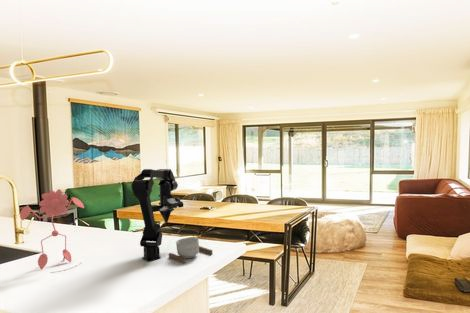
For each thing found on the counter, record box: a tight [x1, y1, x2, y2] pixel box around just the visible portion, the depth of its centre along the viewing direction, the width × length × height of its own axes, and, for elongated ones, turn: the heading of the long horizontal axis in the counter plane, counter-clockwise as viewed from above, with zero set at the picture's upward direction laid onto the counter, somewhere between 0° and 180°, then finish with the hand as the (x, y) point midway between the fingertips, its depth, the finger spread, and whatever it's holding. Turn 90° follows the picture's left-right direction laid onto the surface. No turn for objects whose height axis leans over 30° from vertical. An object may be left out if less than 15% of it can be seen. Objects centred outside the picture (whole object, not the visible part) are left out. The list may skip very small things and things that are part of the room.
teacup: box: [175, 236, 200, 259], centre depth 166 cm, size 14×11×8 cm
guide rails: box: [168, 245, 213, 264], centre depth 166 cm, size 17×12×2 cm
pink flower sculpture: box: [19, 188, 85, 274], centre depth 154 cm, size 15×26×35 cm, turn 132°
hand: (166, 222), depth 180 cm, fingers closed
